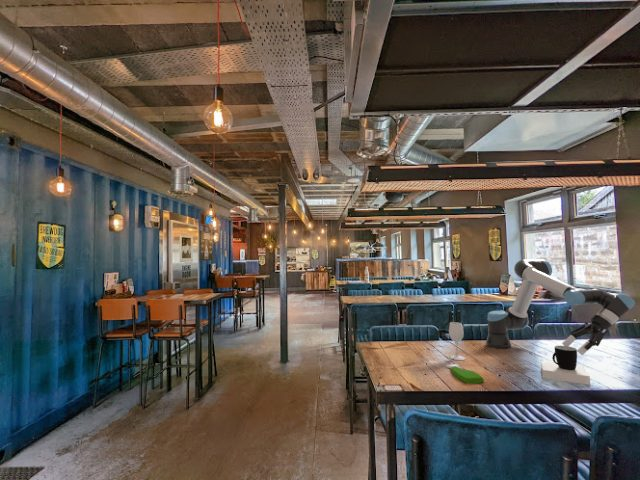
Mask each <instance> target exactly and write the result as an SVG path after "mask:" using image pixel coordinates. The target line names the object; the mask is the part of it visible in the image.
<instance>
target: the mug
mask: <svg viewBox="0 0 640 480" xmlns="http://www.w3.org/2000/svg"><path fill="white" fill-rule="evenodd" d="M577 350H578V349H577V348H576V347H573V346H570V345H569V346H564V345H555V346H554V352H553V354H552V361H553V363H555V364H557V365H558V366H559V367H560V368H561V369H565V370H575V368H576V366H577V362H578V351H577Z"/></svg>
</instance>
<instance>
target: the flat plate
mask: <svg viewBox="0 0 640 480" xmlns="http://www.w3.org/2000/svg"><path fill="white" fill-rule="evenodd" d="M540 367H541V368H540V369H541V374H542V377H543V379H546V380H547V379H548V380H551V381H552V380H553V381H559V380H560V382H567V383H573V384H574V383H575V384H579V385H580V384H581V385H586V384H587V385H588V386H591V379H590V375H589V373H588V372H587V370H586V368H585V366H584V365H583V366H582V365H576V368H575V370H565V369H561V368H560V367H559V366H558V365H557V364H555V363H554V362H552V361H544V360H543V361H542V360H541V361H540Z"/></svg>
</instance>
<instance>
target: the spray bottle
mask: <svg viewBox="0 0 640 480" xmlns="http://www.w3.org/2000/svg"><path fill="white" fill-rule="evenodd" d="M445 365H446V368H448V369H450V368H451V369H450V371H451V373H452V374H453V376H454V377H455V378H456V379H458V380H459V379H460V380H459V381H461V382H463V383H464V382H465V383H464V384H467V383H472V384H482V383H481V382H483V383H484V380H485V379H484V378H483V376H481V375H480V374H479V373H477V372H475V371H473V370H471V369H470V370H469V369H462V367H461V366H460V364H455V363H454V364H453V363H452V364H445Z"/></svg>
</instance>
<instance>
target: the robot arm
mask: <svg viewBox="0 0 640 480" xmlns="http://www.w3.org/2000/svg"><path fill="white" fill-rule="evenodd" d="M552 273H553V267H552V265H551V263H550V262H549V261H547V260H545V259H540V258H536V259H521V260H519V261H517V262H515V265H514V274H516V276H517V277H518V278H520V279H521V280H523V281H522V283H521V285H520V288H519V290H518V292H517V293H516V294H517V295H516V296H515V300H514V302H513V305H512V306H510V307H509V308H508V310H507V312H506V311H505V310H492V311H489V312H487V318H486V320H487V333H488V334H487V337H486V341H485V346H487V347H489V348H492V347H493V348H492V349H500V350H501V349H502V350H509V349H511V348H512V343H511V340H510V337H509V335H508V331H513V330H522V329H526V328H527V327H528V326H529V323H530V320H529V316H528V313H527V311H528V309H529V307H530V305H531V302H532V300H533V298H534V296H535V294H536V292H537V289H538V287H541V288H544V289H545V290H548V291H550V292H551V293H553V294H555V295H558V296H559V297H561V298H562V299H564V301H565V302H566V303H567V304H569V305H571V306H584V305H599V306H601V307H602V308H601V309H600V310H599V311H598V312H597V313H596V314H594V315H593V316H592V317H591V318H590V323H588V322H587V321H586V322H585V323H583V324H581V325H580V326H578V327H576V328H575V329H573V330H571V331H570V332H569V334H570V335H569V336H568V337H567V338H566V339H565V340H564V341H562V342H561V345H562V346H569V347H570V346H571V345H572V344H573V343H574V342H575V341H576V340H578V338H579V337H582V336H584V335H590V336H589V339H588V340H587V341H585V343H584V344H582V345H581V346H580V347H579V348H578V349H577V353H578V354H580V355H581V356H583V355H585V354H586V352H588V351H589V350H591V348H593V347H594V346H596V347H599V346H600V344H601V342H602V340H603V338H604V336H605V335H606V334H607V333H608V330H609V329H610V328H611V327H612V325H614V324H615V323H617V322H618V321H619V319H621V318H622V317H623V316H624V315H625V314H626V313H627V312H629V311H630V310H631V309H632V308H633V307H634V306H635V305H636V301H635V300H634V299H633V298H632V297H631V296H629V295H627V294H625V293H622V292H619V293H617V294H616V295H615V294H612V293H610V292H608V291H605V290H603V289H601V288H599V287H596V286H593V285H589V286H588V287H585V288H584V289H579V288H577V287H575V286H573V285H571V284H568V283H566V282H564V281H562V280H560V279H557V278H556V277H553V276H551V275H552Z"/></svg>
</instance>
